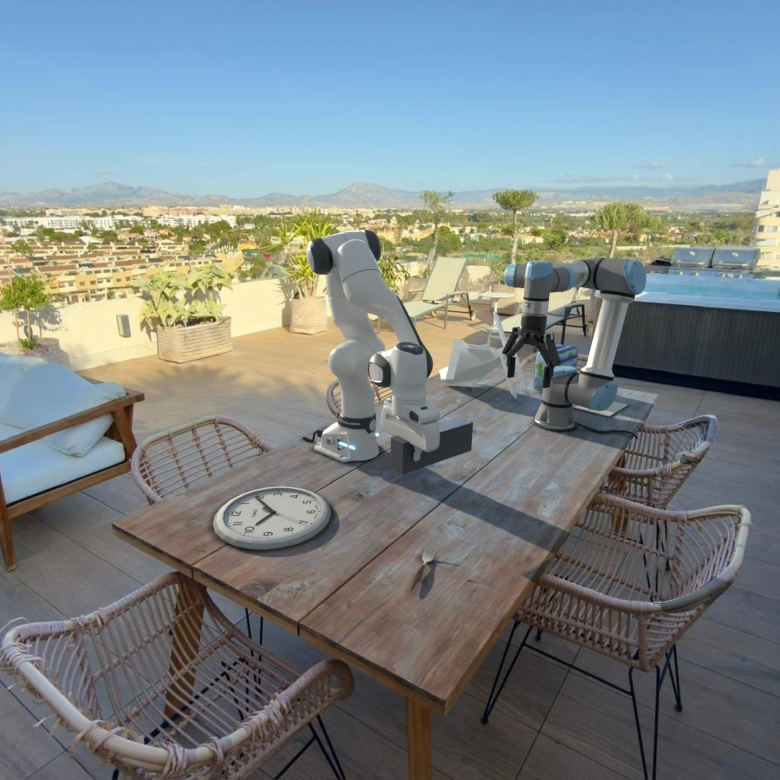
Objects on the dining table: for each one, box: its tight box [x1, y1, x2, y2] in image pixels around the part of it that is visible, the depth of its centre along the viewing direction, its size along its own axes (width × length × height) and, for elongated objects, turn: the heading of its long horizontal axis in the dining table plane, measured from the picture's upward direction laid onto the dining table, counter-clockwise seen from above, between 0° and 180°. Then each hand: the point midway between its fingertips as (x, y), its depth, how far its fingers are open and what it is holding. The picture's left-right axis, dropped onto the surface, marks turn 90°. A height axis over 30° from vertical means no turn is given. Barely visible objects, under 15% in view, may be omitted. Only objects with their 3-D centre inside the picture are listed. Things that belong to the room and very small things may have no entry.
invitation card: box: [573, 400, 629, 418], centre depth 226 cm, size 21×1×15 cm
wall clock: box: [212, 486, 332, 551], centre depth 136 cm, size 30×2×30 cm
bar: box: [390, 417, 474, 476], centre depth 143 cm, size 26×5×9 cm, turn 128°
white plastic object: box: [438, 310, 531, 400], centre depth 245 cm, size 37×45×31 cm
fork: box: [410, 542, 438, 591], centre depth 116 cm, size 3×16×2 cm, turn 160°
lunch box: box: [533, 344, 579, 392], centre depth 247 cm, size 26×11×21 cm, turn 134°
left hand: (407, 455), depth 138 cm, fingers closed on bar, 5 cm apart
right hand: (527, 382), depth 163 cm, fingers open, 13 cm apart
